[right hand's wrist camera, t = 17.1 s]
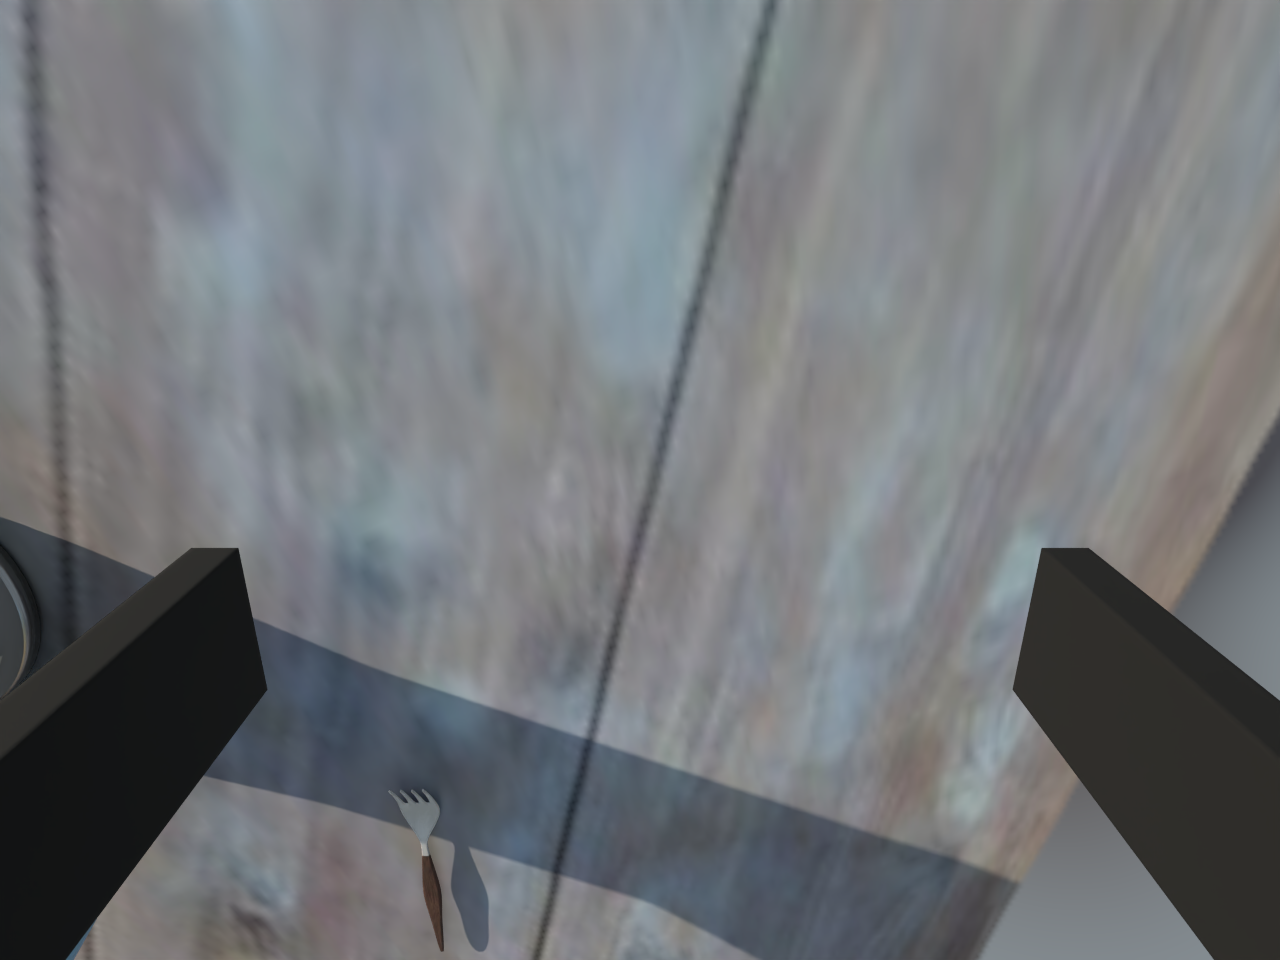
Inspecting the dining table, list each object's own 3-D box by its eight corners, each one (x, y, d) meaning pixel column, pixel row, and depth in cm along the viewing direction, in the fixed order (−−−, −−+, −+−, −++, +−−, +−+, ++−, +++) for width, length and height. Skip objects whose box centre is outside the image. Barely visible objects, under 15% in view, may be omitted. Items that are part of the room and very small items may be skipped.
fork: (426, 945, 56) (418, 971, 54) (394, 768, 50) (384, 791, 48) (461, 944, 56) (455, 970, 54) (434, 767, 50) (426, 790, 48)
